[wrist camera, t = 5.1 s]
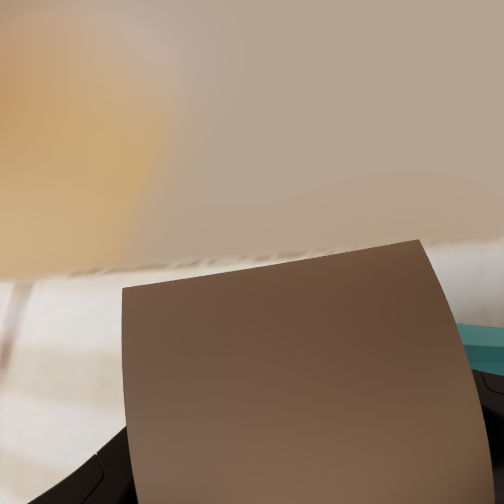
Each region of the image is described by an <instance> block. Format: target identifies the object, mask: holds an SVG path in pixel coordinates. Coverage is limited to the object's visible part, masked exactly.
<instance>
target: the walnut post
mask: <svg viewBox="0 0 504 504" xmlns="http://www.w3.org/2000/svg"><path fill="white" fill-rule="evenodd" d="M122 371H123V390H124V404H125V415H126V426H127V435H128V443H129V451H130V458H131V464H132V471H133V477H134V482H135V488H136V493H137V498H138V503H139V504H495V494H494V482H493V472H492V464H491V457H490V450H489V444H488V438H487V433H486V427H485V422H484V418H483V413H482V409H481V404H480V400H479V396H478V392H477V389H476V385H475V381H474V378H473V374H472V371H471V367H470V364H469V361H468V358H467V354H466V351H465V348H464V345H463V342H462V339H461V337H460V334H459V331H458V328H457V325H456V323H455V320H454V317H453V315H452V312H451V310H450V307H449V305H448V302H447V300H446V297H445V295H444V293H443V290H442V288H441V285H440V283H439V281H438V279H437V276H436V274H435V272H434V270H433V268H432V265H431V263H430V261H429V259H428V257H427V255H426V253H425V251H424V249H423V247H422V245H421V243H420V241H419V239H418V240H412V241H407V242H401V243H396V244H391V245H385V246H379V247H374V248H368V249H363V250H357V251H351V252H345V253H340V254H334V255H328V256H322V257H317V258H311V259H305V260H299V261H293V262H287V263H281V264H275V265H269V266H263V267H256V268H250V269H244V270H238V271H232V272H225V273H219V274H213V275H206V276H200V277H193V278H187V279H180V280H174V281H167V282H160V283H154V284H147V285H140V286H133V287H127V288H122Z"/></svg>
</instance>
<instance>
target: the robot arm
mask: <svg viewBox="0 0 504 504" xmlns="http://www.w3.org/2000/svg"><path fill="white" fill-rule="evenodd" d="M471 371H472V374H473V378H474V381H475V385H476V389H477V392H478V396H479V400H480V404H481V409H482V413H483V418H484V422H485V427H486V433H487V438H488V444H489V450H490V457H491V464H492V472H493V482H494V494H495V504H504V376H502V375H497V374H493V373H488V372H484V371H481V372H480V371H479V370H476V369H472V368H471ZM28 504H139V503H138V498H137V493H136V488H135V482H134V477H133V471H132V464H131V458H130V451H129V443H128V435H127V426H125V427H124V428H123V429H122V430H121V431H120V432H119V433H118V434H116V435H115V436H114V437H113V438H112V439H111V440H110V441H109V442H108V443H107V444H105V445H104V446H103V447H102V448H101V449H100V450H99V451H98V452H97V455H96V454H94V455H93V456H92V457H91V458H90V459H89V460H87V461H86V462H85V463H84V464H83V465H82V466H80V467H79V468H78V469H77V470H76V471H74V472H73V473H72V474H70V475H69V476H68V477H66V478H65V479H64V480H62V481H61V482H59V483H58V484H57V485H55V486H54V487H52V488H51V489H49V490H48V491H46V492H45V493H43V494H42V495H40V496H38V497H37V498H35V499H34V500H32V501H31V502H29V503H28Z"/></svg>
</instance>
